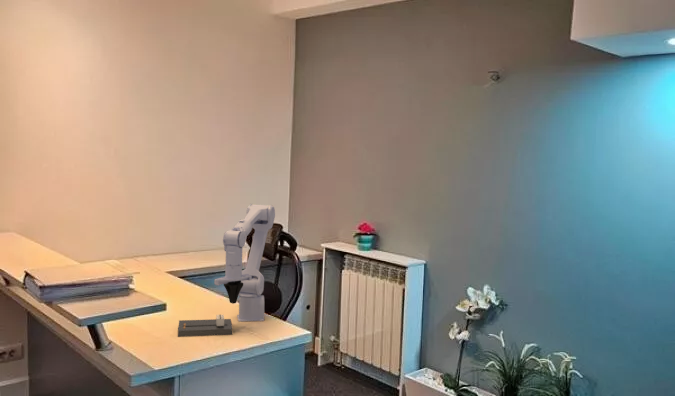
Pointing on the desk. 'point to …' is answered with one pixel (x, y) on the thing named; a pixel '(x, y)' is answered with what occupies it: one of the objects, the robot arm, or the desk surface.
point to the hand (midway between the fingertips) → (232, 302)
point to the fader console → (203, 328)
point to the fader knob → (220, 320)
